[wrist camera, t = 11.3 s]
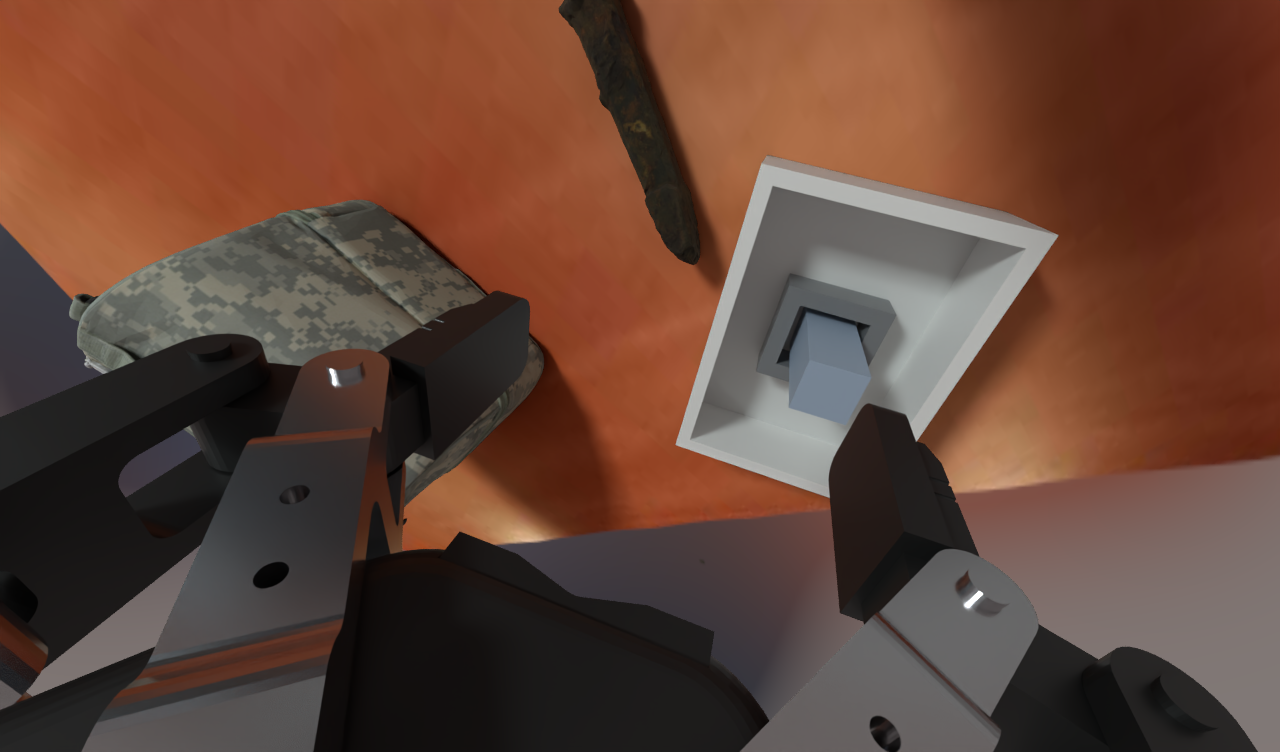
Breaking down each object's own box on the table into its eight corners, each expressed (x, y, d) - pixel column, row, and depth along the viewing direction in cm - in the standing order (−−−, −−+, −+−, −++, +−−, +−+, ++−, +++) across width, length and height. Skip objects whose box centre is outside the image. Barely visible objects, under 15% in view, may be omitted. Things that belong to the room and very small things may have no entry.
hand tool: (574, 10, 31) (543, -4, 28) (624, -23, 30) (598, -43, 26) (669, 266, 38) (654, 283, 34) (713, 251, 37) (704, 267, 33)
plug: (806, 302, 35) (809, 359, 27) (852, 315, 35) (871, 377, 26) (789, 342, 37) (788, 407, 29) (833, 355, 36) (845, 425, 28)
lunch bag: (310, 290, 51) (46, 385, 33) (361, 164, 42) (27, 201, 24) (484, 443, 55) (333, 602, 37) (567, 361, 46) (418, 521, 28)
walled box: (767, 155, 32) (761, 163, 26) (1006, 211, 30) (1058, 235, 24) (691, 401, 44) (675, 444, 38) (858, 455, 41) (868, 511, 36)
